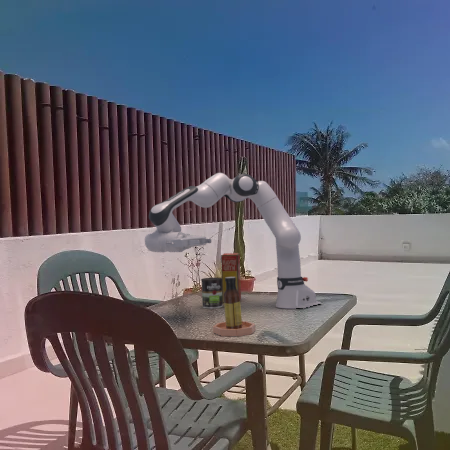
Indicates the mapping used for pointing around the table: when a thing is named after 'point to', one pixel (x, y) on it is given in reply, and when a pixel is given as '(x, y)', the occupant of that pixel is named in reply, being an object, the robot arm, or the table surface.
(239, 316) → the sauce bottle
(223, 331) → the terracotta saucer
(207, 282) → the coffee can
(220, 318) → the table surface
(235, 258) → the food packaging
